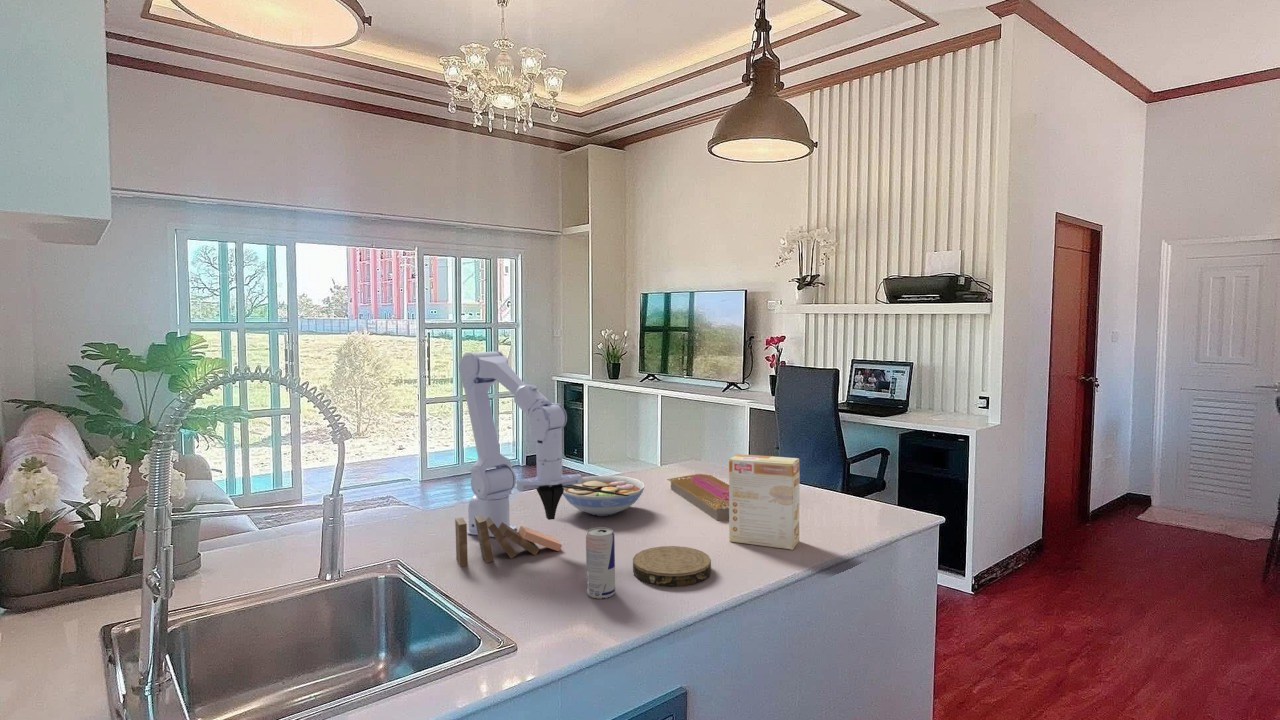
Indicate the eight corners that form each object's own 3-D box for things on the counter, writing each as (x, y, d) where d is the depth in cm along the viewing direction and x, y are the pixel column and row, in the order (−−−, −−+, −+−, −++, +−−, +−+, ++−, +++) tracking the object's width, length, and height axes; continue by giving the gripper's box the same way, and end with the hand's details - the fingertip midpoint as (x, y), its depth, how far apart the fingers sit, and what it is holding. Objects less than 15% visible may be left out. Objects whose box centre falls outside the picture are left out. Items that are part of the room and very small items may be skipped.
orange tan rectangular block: (559, 551, 154) (523, 538, 150) (552, 544, 158) (518, 532, 155) (562, 545, 154) (526, 531, 150) (555, 538, 158) (521, 525, 155)
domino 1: (460, 566, 145) (458, 524, 144) (456, 559, 150) (455, 518, 149) (467, 565, 146) (466, 523, 145) (463, 558, 150) (462, 517, 150)
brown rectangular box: (667, 490, 207) (667, 470, 207) (711, 486, 212) (711, 466, 211) (715, 523, 174) (715, 499, 174) (766, 517, 179) (766, 494, 178)
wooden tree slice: (726, 577, 138) (726, 563, 138) (661, 595, 130) (661, 579, 130) (680, 554, 152) (680, 541, 152) (618, 569, 143) (618, 555, 143)
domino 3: (511, 559, 149) (487, 527, 147) (506, 551, 154) (483, 521, 151) (517, 554, 150) (493, 522, 147) (511, 547, 154) (489, 516, 152)
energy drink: (619, 589, 132) (618, 528, 131) (609, 601, 127) (608, 537, 126) (593, 586, 134) (592, 525, 133) (582, 597, 129) (581, 534, 128)
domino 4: (535, 555, 151) (502, 534, 148) (529, 548, 156) (498, 528, 153) (539, 549, 152) (507, 528, 149) (533, 542, 156) (502, 522, 153)
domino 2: (486, 562, 147) (478, 522, 146) (481, 555, 152) (474, 516, 151) (493, 560, 148) (486, 520, 147) (488, 553, 152) (481, 514, 151)
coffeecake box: (800, 541, 159) (800, 457, 158) (793, 550, 152) (793, 463, 151) (737, 533, 165) (737, 452, 164) (728, 542, 159) (728, 458, 158)
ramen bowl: (665, 508, 187) (664, 478, 186) (617, 531, 167) (617, 498, 167) (590, 496, 200) (590, 468, 199) (538, 516, 181) (538, 485, 180)
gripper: (521, 465, 148) (523, 527, 148) (585, 459, 153) (586, 518, 154) (514, 459, 154) (515, 518, 155) (575, 453, 160) (576, 510, 161)
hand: (550, 518), depth 155 cm, fingers closed
